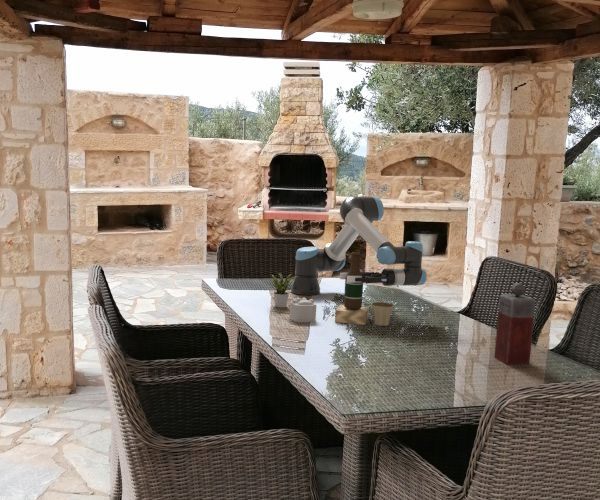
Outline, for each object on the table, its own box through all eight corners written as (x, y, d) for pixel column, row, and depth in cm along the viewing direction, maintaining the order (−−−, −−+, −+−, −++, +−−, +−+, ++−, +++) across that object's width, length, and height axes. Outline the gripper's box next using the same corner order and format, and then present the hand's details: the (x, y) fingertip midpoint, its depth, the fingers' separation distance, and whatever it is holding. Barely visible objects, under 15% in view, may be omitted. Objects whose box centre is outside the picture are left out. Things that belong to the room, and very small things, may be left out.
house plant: (300, 304, 316) (301, 270, 314) (297, 310, 302) (298, 274, 300) (270, 302, 317) (271, 268, 315) (266, 308, 303) (267, 272, 301)
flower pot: (391, 328, 277) (393, 307, 276) (369, 325, 279) (370, 305, 278) (393, 322, 287) (394, 303, 285) (371, 320, 288) (372, 301, 287)
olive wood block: (334, 321, 283) (335, 310, 283) (339, 315, 296) (339, 304, 295) (365, 324, 281) (366, 313, 280) (368, 318, 293) (369, 307, 293)
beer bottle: (362, 309, 284) (365, 253, 281) (344, 308, 284) (347, 253, 281) (361, 305, 291) (364, 251, 288) (343, 304, 292) (346, 250, 288)
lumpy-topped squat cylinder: (294, 322, 279) (295, 302, 278) (286, 315, 291) (287, 296, 290) (318, 322, 282) (319, 302, 281) (308, 315, 294) (309, 295, 293)
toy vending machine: (512, 355, 245) (519, 280, 241) (529, 364, 234) (537, 285, 230) (490, 355, 243) (497, 279, 239) (506, 364, 232) (513, 285, 228)
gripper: (402, 289, 283) (352, 290, 275) (382, 281, 301) (334, 282, 294) (403, 272, 282) (353, 272, 275) (383, 265, 301) (335, 265, 293)
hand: (343, 277), depth 284 cm, fingers closed on beer bottle, 7 cm apart
